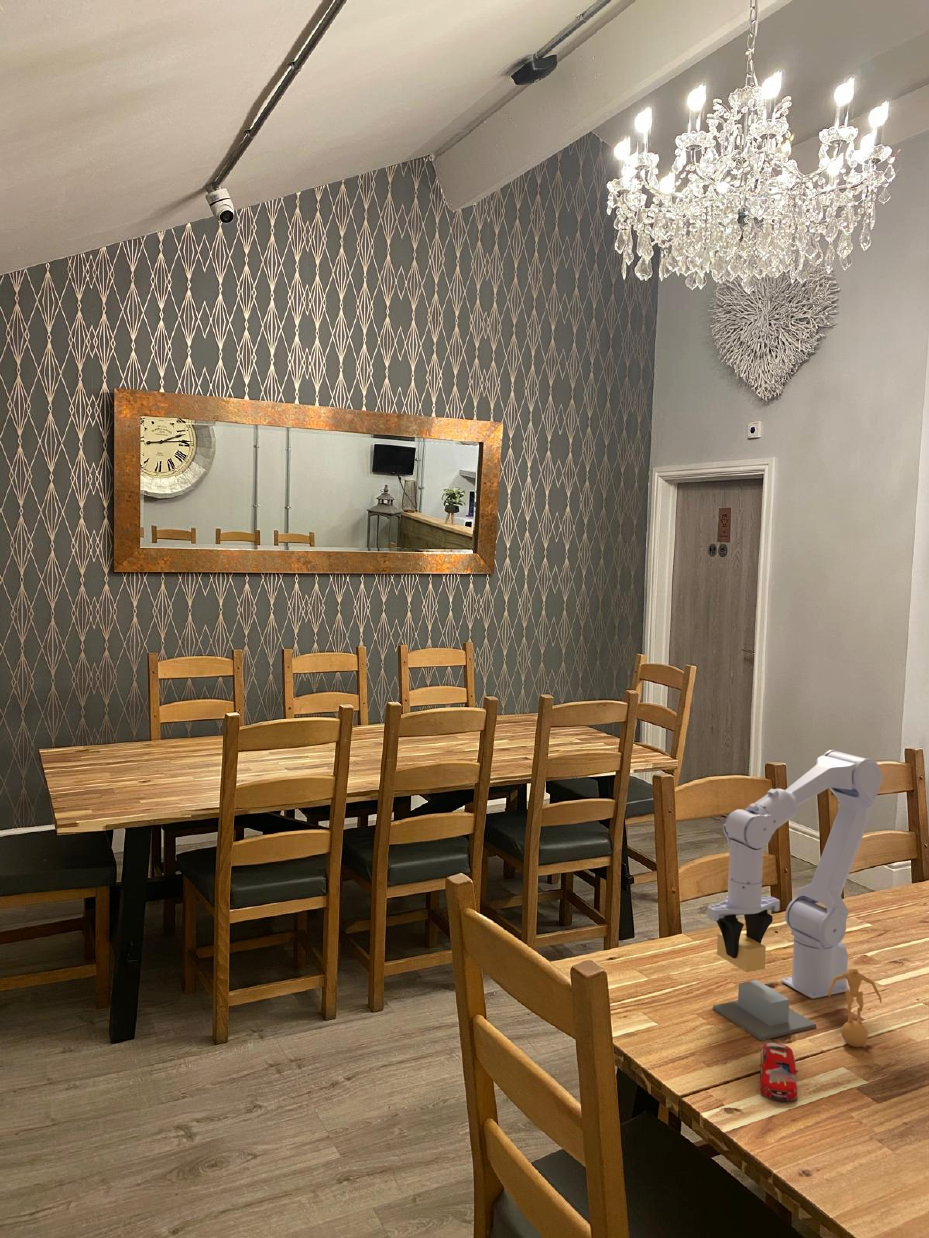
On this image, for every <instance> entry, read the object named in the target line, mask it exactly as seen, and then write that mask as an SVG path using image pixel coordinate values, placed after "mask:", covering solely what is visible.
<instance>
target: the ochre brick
mask: <svg viewBox="0 0 929 1238" xmlns="http://www.w3.org/2000/svg"><path fill="white" fill-rule="evenodd" d="M716 944H717V945H716V956H718V957H720V958H722V959H723V960H725V961H727V962H729V963H730V964H732V965H733V966H735V967H737V968H738V969H740V970H742V971H744V972H745V973H750V972H756V971H761V970H765V969H766V952H767V951H766V950H767V949H766V948H767V947H766V946H765V944H762V943H761V944H760V943H758V942H756V941H755V940H753V939H751V938H749V937H747V936H746V934H744V933H742V932H741V934H740V939H739V949H738V955H737V958H732V957H730V956H729V955H727V953H726V948H725V943H724V939H723V936H722V933H721V931H720V932H717V941H716Z"/></svg>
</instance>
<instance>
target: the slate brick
mask: <svg viewBox="0 0 929 1238" xmlns="http://www.w3.org/2000/svg"><path fill="white" fill-rule="evenodd" d="M737 992H738V995H737V998H738V999H737V1000H738V1006H739V1007H741V1008H742V1009H744V1010H745V1011H747V1012H748V1013H750V1014H752V1015H753V1016H755V1017H756V1018H758V1019H759V1020H761V1021H763V1022H764V1023H766V1024H767V1025H769V1026H774V1025H778V1024H782V1023H787V1022H788V1020H789V1008H790V998H788V997H787V996H784V995H783V994H782V993H780V992H778V991H777V990H775V989H773V988H772V987H769V986H768V985H766V984H764V983H763V982H761V981H760V980H758V979H754V980H750V981H745V982H740V983H738V991H737Z"/></svg>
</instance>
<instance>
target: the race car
mask: <svg viewBox="0 0 929 1238" xmlns="http://www.w3.org/2000/svg"><path fill="white" fill-rule="evenodd" d="M759 1067H760V1071H759V1072H760V1077H759V1078H760V1081H759V1082H760V1084H759V1085H760V1094H761V1095H763V1096H764V1097H766V1098H770V1099H772V1100H776V1101H782V1102H792V1101H796V1100H797V1097H798V1096H797V1094H798V1084H797V1073H798V1072H799V1070H797V1069H796V1058H795V1055H794V1053H793V1049H792V1048H791V1047H789V1046H787V1045H786V1044H785V1045H784V1044H781V1043H773V1042H768V1043H765V1044H763V1046H762V1049H761V1052H760V1064H759Z"/></svg>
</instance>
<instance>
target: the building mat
mask: <svg viewBox="0 0 929 1238" xmlns="http://www.w3.org/2000/svg"><path fill="white" fill-rule="evenodd" d="M712 1009H713V1010H714V1011H715V1012H717V1013H719V1014H720V1015H722V1016H723V1017H724V1018H726V1019H727V1020H729V1021H731V1022H732V1023H734V1024H735V1025H737V1026H738V1027H739V1028H741V1029H743V1030H744V1031H745V1032H747V1033H749V1034H750V1035H752V1036H753V1037H755V1038H756V1039H758V1040H760V1041H765V1040H770V1039H774V1038H777V1037H782V1036H785V1035H790V1034H794V1033H799V1032H803V1031H807V1030H811V1029H816V1028H817V1023H816V1022H813V1021H812V1020H811V1019H808V1018H807V1017H805V1016H804V1015H803V1014H800V1013H799V1012H798V1011H795V1010H794V1009H792V1008H790V1007H789V1020H788V1022H787V1023H782V1024H778V1025H774V1026H769V1025H767V1024H766V1023H764V1022H763V1021H761V1020H759V1019H758V1018H756V1017H755V1016H753V1015H752V1014H750V1013H748V1012H747V1011H745V1010H744V1009H742V1008H741V1007H739V1006H738V999H737V1000H733V1001H728V1002H723V1003H719V1004H714V1005H712Z"/></svg>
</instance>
